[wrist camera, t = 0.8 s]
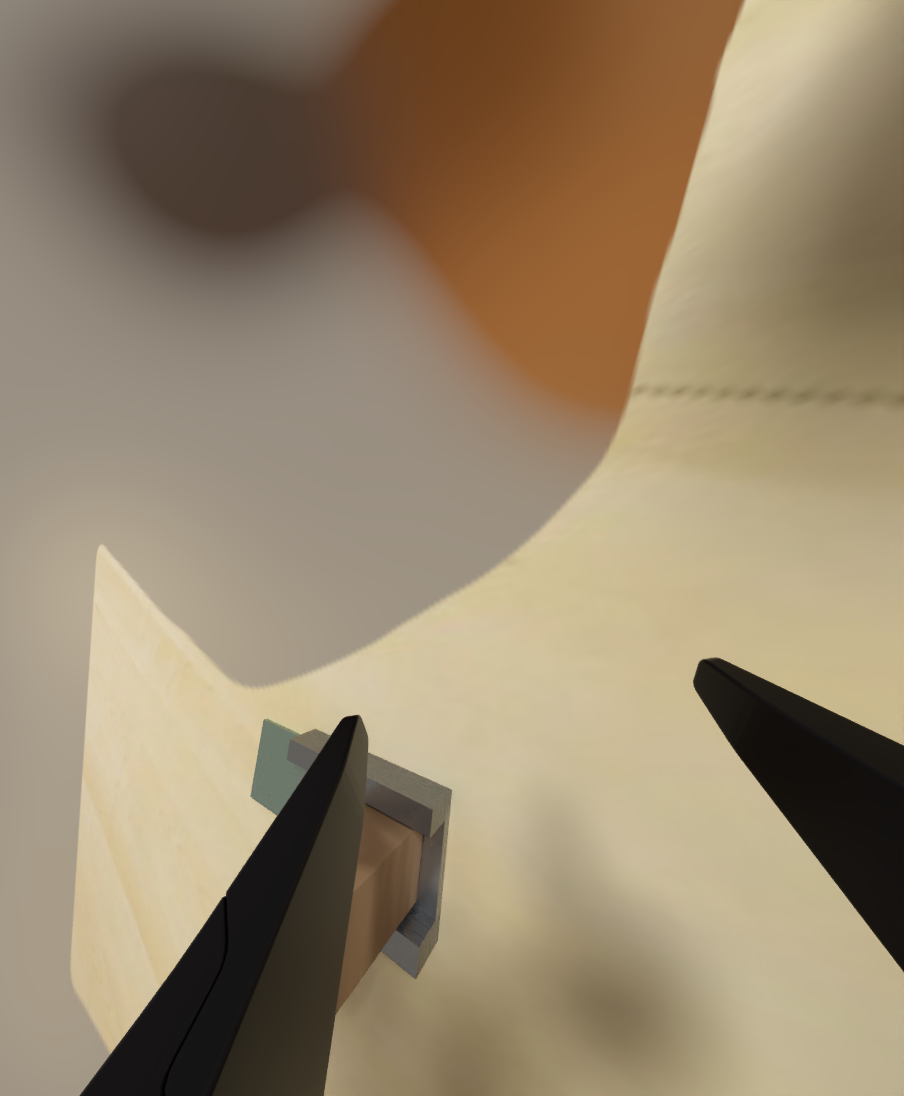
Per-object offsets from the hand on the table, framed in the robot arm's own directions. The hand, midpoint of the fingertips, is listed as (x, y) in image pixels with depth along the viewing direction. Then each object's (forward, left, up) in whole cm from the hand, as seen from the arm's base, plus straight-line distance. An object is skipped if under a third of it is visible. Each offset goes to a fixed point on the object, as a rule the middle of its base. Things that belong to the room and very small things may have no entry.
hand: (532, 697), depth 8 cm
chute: (-10, +22, -13) cm, 27 cm away
